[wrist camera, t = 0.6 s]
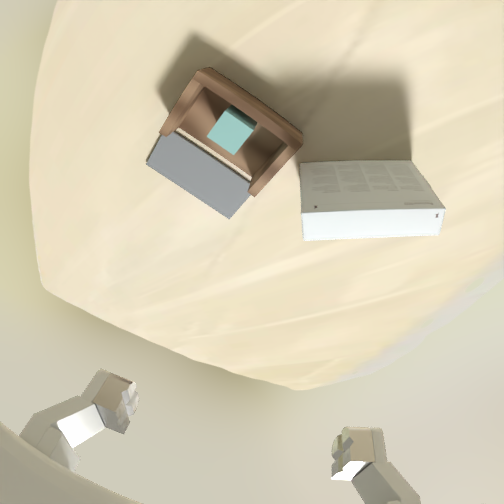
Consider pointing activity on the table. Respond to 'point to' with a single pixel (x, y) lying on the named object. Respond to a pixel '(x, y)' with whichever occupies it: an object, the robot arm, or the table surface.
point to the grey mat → (199, 174)
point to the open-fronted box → (269, 122)
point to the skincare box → (367, 200)
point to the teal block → (232, 129)
